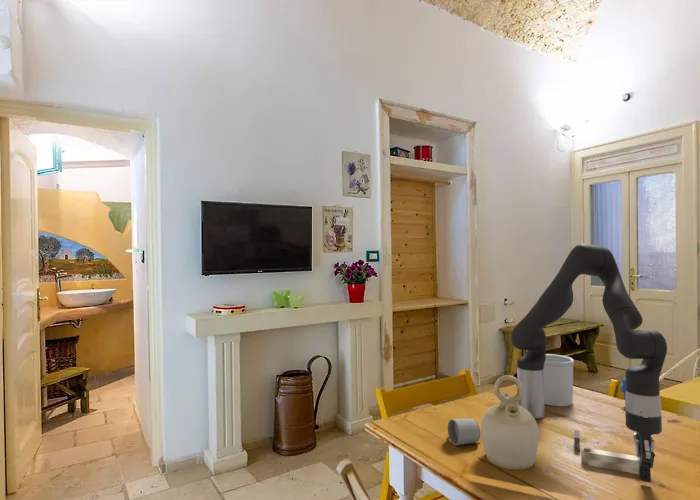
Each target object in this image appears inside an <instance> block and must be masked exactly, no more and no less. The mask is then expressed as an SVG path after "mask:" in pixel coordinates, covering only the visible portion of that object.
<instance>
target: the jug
mask: <svg viewBox="0 0 700 500" xmlns="http://www.w3.org/2000/svg"><path fill="white" fill-rule="evenodd" d="M506 382H512V383H513V384H514V385H515V386H516V387H517V388H518V391H517V390H516V394H515V395H513V396H510V393H508V392H505V393H504V394H503V395H502V393H501V392H500V387H501V385H502V384H503V383H506ZM517 388H516V389H517ZM493 390H494V391H493V392H494V395H495V396H496V397H497V399H499V400H500V402H499V403H497V404H494V405H492V406H490V407H489V408H488V409H487V410H485V412H484V414H483V417H482V419H481V424H480V434H481V438H482V443H483V448H484V453H485V456H486V459H487V460H488V461H489V463H491V464H494V465H495V466H497V467H500V468H503V469H509V470H517V471H518V470H526V469H529V468H532V467H533V466H534V464H535V461H536V457H537V453H538V447H539V440H540V430H539V427H538V422H537V421H536V418H534V417H533V416H532V414H531V413H530V412H528V411H527V410H526V409H524V408H523V407H521V406H519V405H518V403H517V401H518V400H519V399H520V398H521V397H522V395H523V387H522V384H521V382H520V381H519V380H518V379H517V377H515V376H513V375H509V374H505V375H502V376H500V377H498V378H497V380H496V381H495V383H494V386H493Z"/></svg>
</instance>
